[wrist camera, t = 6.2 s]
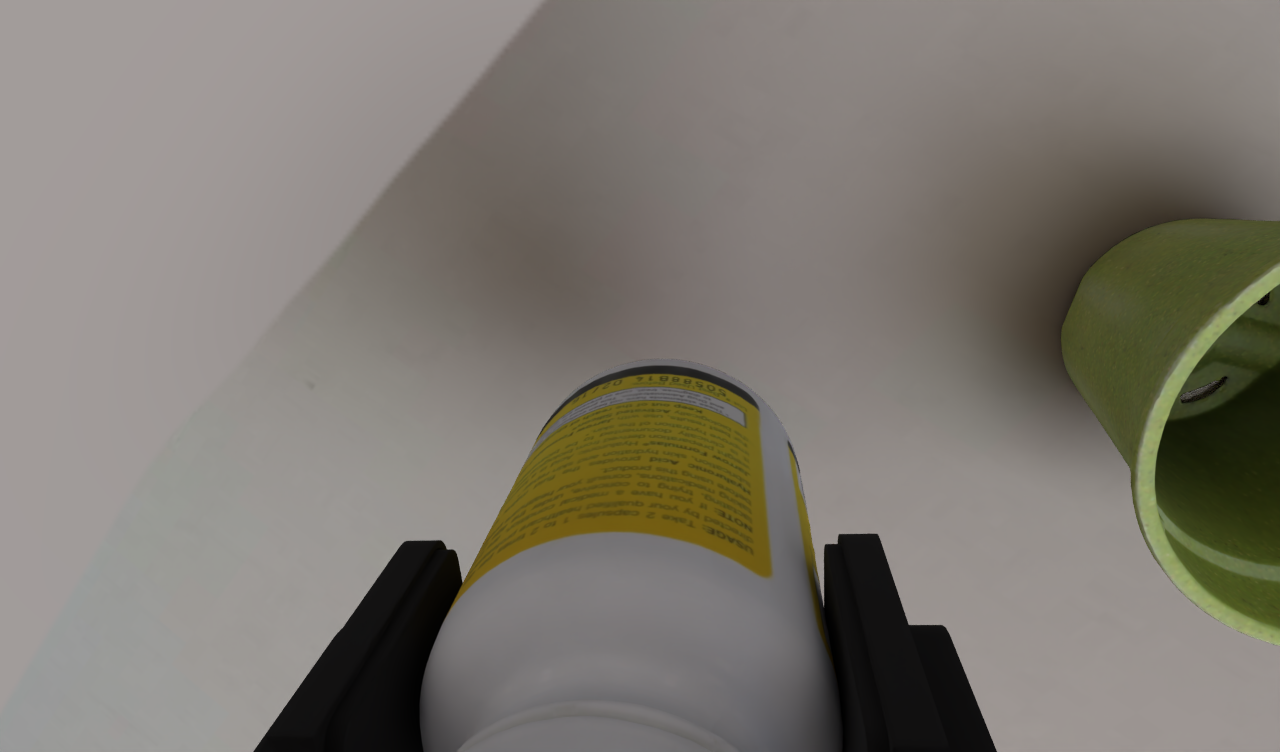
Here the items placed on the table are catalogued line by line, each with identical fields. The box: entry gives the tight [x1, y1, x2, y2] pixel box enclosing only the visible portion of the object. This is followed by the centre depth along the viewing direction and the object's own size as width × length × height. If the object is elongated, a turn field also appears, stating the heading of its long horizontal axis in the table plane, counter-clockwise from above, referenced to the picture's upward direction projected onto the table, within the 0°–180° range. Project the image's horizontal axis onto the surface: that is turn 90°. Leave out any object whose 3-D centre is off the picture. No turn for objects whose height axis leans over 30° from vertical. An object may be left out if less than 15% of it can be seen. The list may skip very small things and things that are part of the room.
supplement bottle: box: [420, 359, 843, 752], centre depth 12 cm, size 5×5×10 cm
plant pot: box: [1061, 218, 1280, 645], centre depth 19 cm, size 9×9×9 cm
